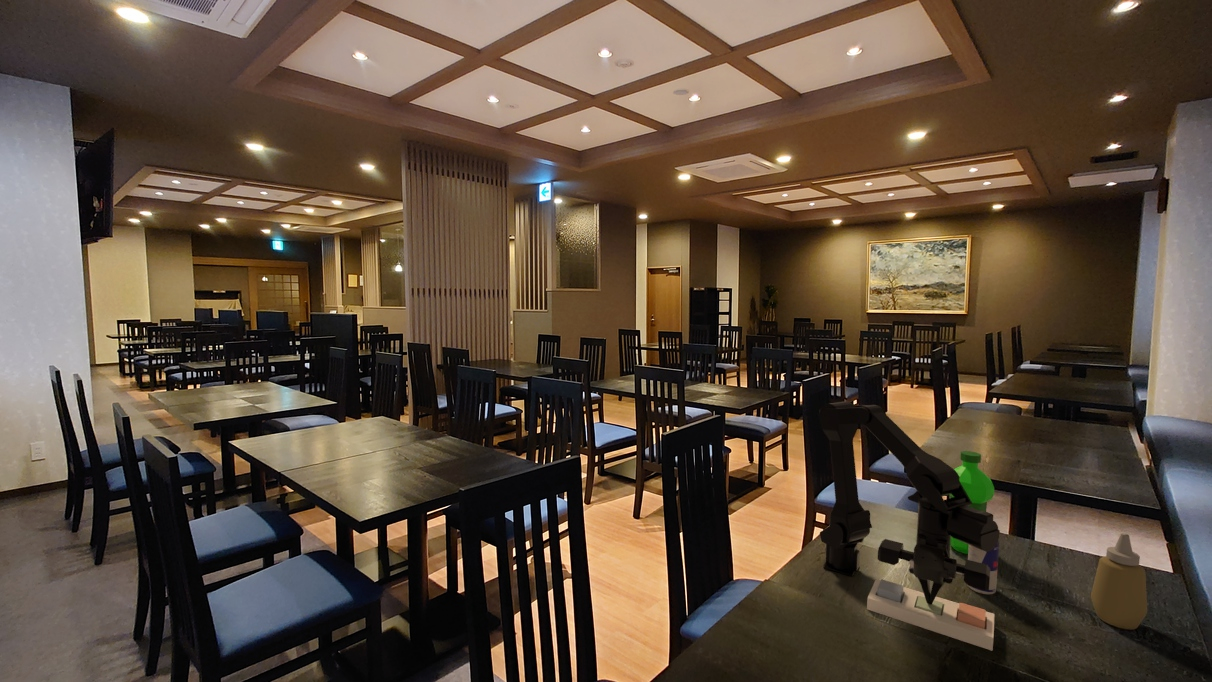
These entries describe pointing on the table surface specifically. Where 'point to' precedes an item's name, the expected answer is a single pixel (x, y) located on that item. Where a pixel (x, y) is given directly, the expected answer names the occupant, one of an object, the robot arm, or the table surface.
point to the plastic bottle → (973, 488)
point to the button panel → (933, 617)
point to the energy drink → (990, 560)
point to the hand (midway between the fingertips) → (929, 603)
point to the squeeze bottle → (1120, 586)
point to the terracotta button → (971, 615)
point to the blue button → (890, 590)
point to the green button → (929, 606)
